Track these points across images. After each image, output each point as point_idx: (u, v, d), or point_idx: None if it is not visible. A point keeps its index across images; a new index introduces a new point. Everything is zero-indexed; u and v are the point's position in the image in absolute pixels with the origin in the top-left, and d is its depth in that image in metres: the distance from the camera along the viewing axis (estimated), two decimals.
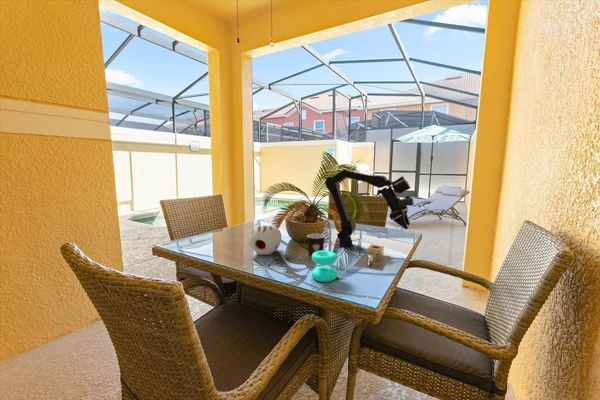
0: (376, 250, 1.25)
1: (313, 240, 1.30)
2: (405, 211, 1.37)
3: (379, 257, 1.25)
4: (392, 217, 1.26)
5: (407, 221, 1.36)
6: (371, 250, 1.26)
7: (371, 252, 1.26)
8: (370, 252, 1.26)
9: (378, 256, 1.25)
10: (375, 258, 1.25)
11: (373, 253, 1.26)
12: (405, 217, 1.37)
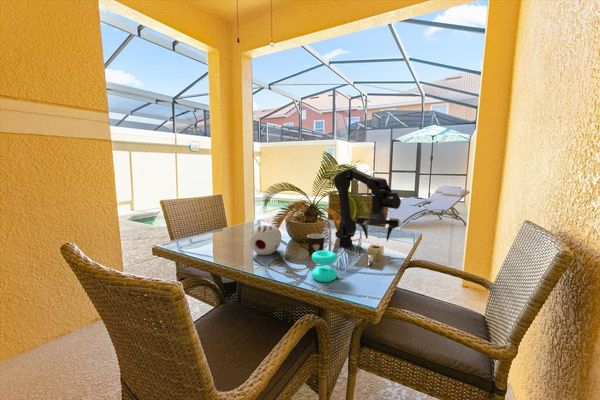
0: (376, 250, 1.25)
1: (313, 240, 1.30)
2: (388, 227, 1.23)
3: (379, 257, 1.25)
4: None
5: None
6: (371, 250, 1.26)
7: (371, 252, 1.26)
8: (370, 252, 1.26)
9: (378, 256, 1.25)
10: (375, 258, 1.25)
11: (373, 253, 1.26)
12: (387, 232, 1.25)
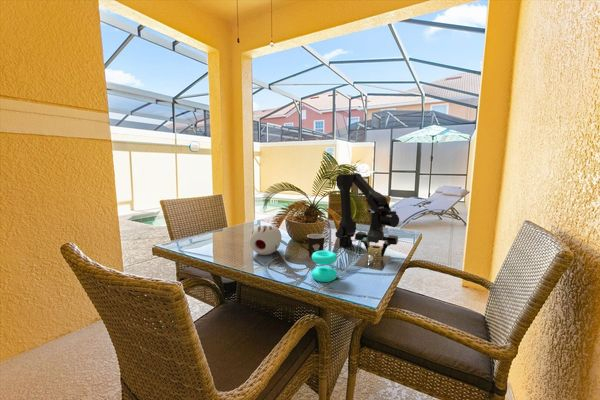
0: (376, 250, 1.25)
1: (313, 240, 1.30)
2: (383, 244, 1.24)
3: (379, 257, 1.25)
4: None
5: (382, 253, 1.27)
6: (371, 250, 1.26)
7: (371, 252, 1.26)
8: (370, 252, 1.26)
9: (378, 256, 1.25)
10: (375, 258, 1.25)
11: (373, 253, 1.26)
12: (383, 248, 1.26)
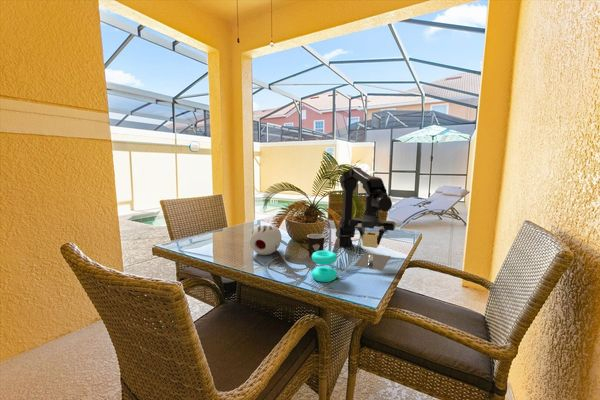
0: (372, 237, 1.15)
1: (313, 240, 1.30)
2: (379, 230, 1.14)
3: (375, 244, 1.15)
4: None
5: (378, 240, 1.17)
6: (366, 237, 1.16)
7: (366, 239, 1.16)
8: (365, 239, 1.16)
9: (374, 243, 1.15)
10: (370, 245, 1.16)
11: (368, 240, 1.16)
12: (379, 235, 1.16)
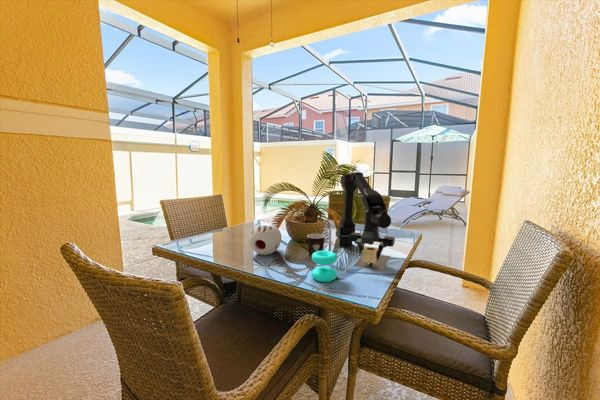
0: (371, 252, 1.16)
1: (313, 240, 1.30)
2: (379, 245, 1.15)
3: (374, 260, 1.16)
4: None
5: None
6: (365, 252, 1.17)
7: (366, 254, 1.17)
8: (365, 254, 1.17)
9: (373, 259, 1.16)
10: (370, 261, 1.17)
11: (368, 255, 1.17)
12: None
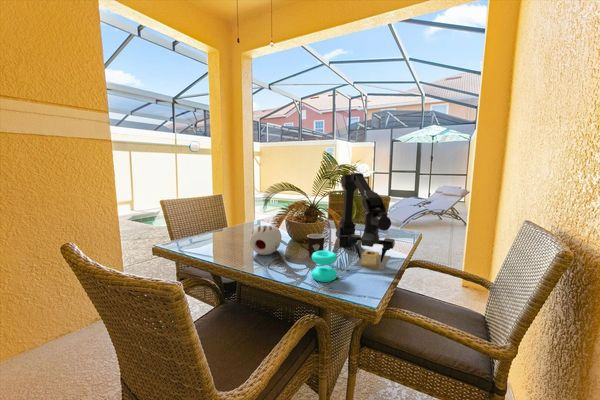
0: (371, 257, 1.16)
1: (313, 240, 1.30)
2: (382, 248, 1.15)
3: (374, 264, 1.16)
4: None
5: (381, 258, 1.17)
6: (365, 257, 1.17)
7: (365, 259, 1.17)
8: (364, 259, 1.17)
9: (373, 263, 1.16)
10: (370, 265, 1.17)
11: (368, 260, 1.17)
12: None
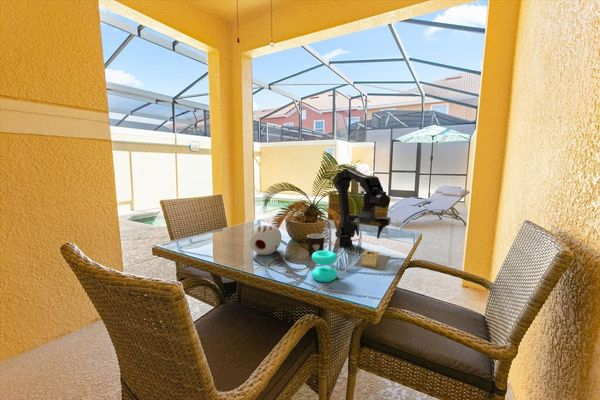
0: (371, 257, 1.16)
1: (313, 240, 1.30)
2: None
3: (374, 264, 1.16)
4: None
5: None
6: (365, 257, 1.17)
7: (365, 259, 1.17)
8: (364, 259, 1.17)
9: (373, 263, 1.16)
10: (370, 265, 1.17)
11: (368, 260, 1.17)
12: None
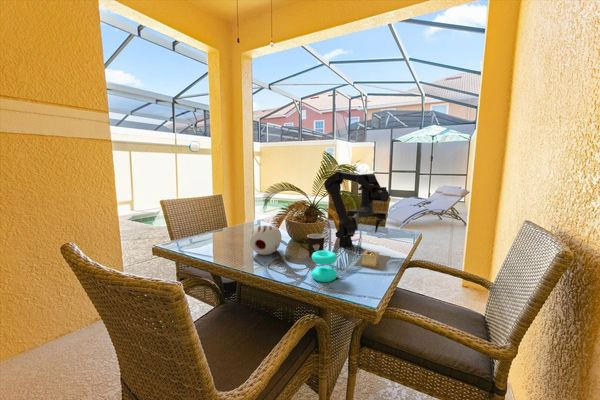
0: (371, 257, 1.16)
1: (313, 240, 1.30)
2: None
3: (374, 264, 1.16)
4: None
5: None
6: (365, 257, 1.17)
7: (365, 259, 1.17)
8: (364, 259, 1.17)
9: (373, 263, 1.16)
10: (370, 265, 1.17)
11: (368, 260, 1.17)
12: None
